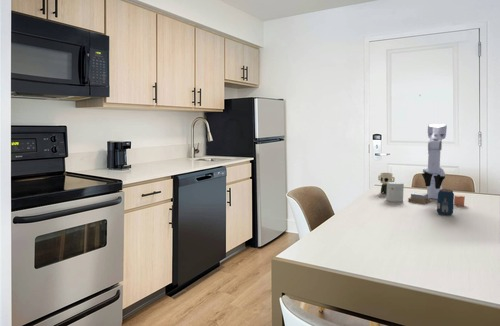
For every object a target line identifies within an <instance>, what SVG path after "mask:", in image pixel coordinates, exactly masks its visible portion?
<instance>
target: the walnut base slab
mask: <svg viewBox="0 0 500 326" xmlns="http://www.w3.org/2000/svg"><path fill="white" fill-rule="evenodd" d="M431 199H432V198H427V199H425V200H420V199H413V198H411V196H410V197H408V199H407V201H408V202H409V203H410V202H411V203H417V204H424V205H425V204H428V203H430V202H431V201H432V200H431Z"/></svg>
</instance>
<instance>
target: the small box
mask: <svg viewBox="0 0 500 326" xmlns="http://www.w3.org/2000/svg"><path fill="white" fill-rule="evenodd" d="M404 186H405V185H404V183H403V182H400V181H398V182H397V181H396V182H395V181H394V182H387V194H386V197H385V198H386V201H388V202H392V203H393V202H394V203H395V202H399V203H401V202H403V203H404Z"/></svg>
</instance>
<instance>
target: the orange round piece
mask: <svg viewBox="0 0 500 326" xmlns="http://www.w3.org/2000/svg"><path fill="white" fill-rule="evenodd" d="M455 205H456V207H464V206H465V196H464V195H457V194H456V195H455V194H454V205H453V206H455Z"/></svg>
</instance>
